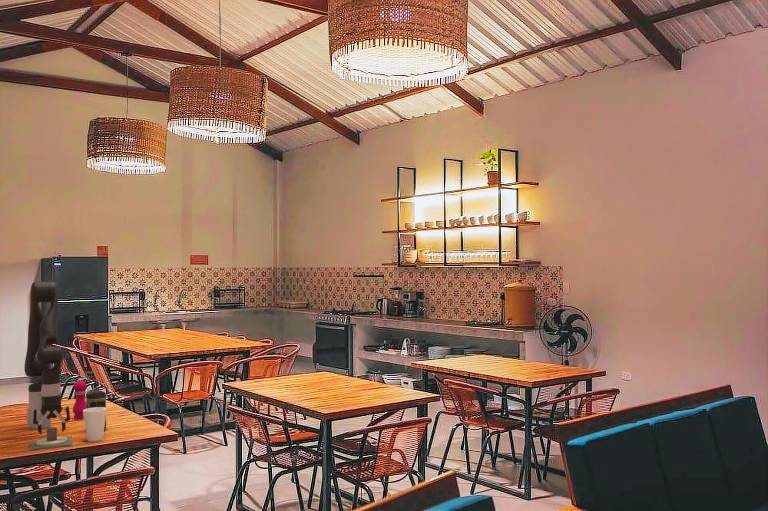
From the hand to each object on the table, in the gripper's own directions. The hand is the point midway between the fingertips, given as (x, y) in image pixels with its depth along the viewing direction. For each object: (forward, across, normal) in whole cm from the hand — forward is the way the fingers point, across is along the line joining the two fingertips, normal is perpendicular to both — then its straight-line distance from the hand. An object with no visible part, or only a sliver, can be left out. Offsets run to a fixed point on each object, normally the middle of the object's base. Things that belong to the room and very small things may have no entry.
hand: (52, 432), depth 311 cm
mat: (+5, 0, 0) cm, 5 cm away
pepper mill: (+4, +12, +52) cm, 53 cm away
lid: (+4, 0, 0) cm, 4 cm away
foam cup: (+5, +17, 0) cm, 18 cm away
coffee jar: (+5, +18, +19) cm, 27 cm away
